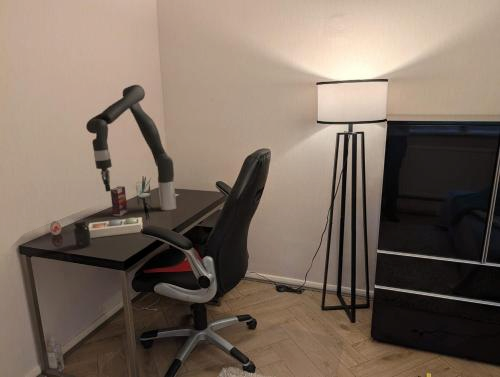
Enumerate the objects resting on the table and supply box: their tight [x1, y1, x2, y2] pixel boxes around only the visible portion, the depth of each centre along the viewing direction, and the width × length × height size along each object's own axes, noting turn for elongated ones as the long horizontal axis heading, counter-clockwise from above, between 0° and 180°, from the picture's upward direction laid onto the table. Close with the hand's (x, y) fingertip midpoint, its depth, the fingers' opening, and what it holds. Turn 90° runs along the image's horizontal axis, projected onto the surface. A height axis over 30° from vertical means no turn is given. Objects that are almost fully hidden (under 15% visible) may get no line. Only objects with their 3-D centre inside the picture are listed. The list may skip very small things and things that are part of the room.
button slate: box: [108, 219, 121, 227], centre depth 182 cm, size 6×6×3 cm
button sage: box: [125, 217, 138, 225], centre depth 184 cm, size 6×6×3 cm
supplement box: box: [109, 185, 129, 217], centre depth 210 cm, size 9×5×16 cm, turn 168°
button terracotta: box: [93, 224, 105, 228], centre depth 180 cm, size 6×6×3 cm
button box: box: [87, 217, 143, 239], centre depth 182 cm, size 26×12×4 cm, turn 105°
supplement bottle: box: [72, 219, 92, 249], centre depth 164 cm, size 7×7×12 cm
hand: (108, 191), depth 186 cm, fingers closed
